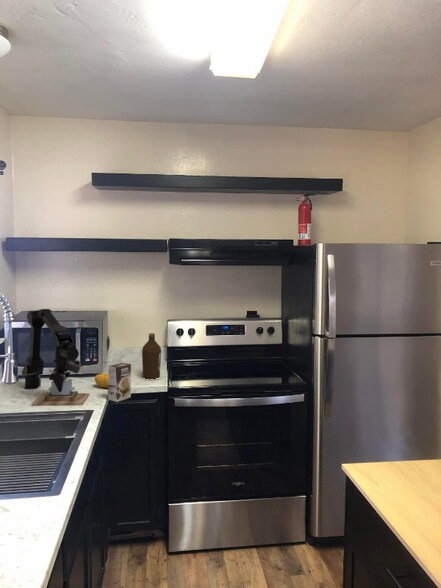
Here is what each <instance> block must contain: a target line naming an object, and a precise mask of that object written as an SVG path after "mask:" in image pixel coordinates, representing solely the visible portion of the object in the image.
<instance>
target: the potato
mask: <svg viewBox="0 0 441 588" xmlns="http://www.w3.org/2000/svg"><path fill="white" fill-rule="evenodd" d="M94 382H95V384H96V385H97V386H98V387H100V388H105V389H108V373H98V374H97V375H95V377H94Z"/></svg>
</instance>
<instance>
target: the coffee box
mask: <svg viewBox="0 0 441 588" xmlns="http://www.w3.org/2000/svg"><path fill="white" fill-rule="evenodd" d="M107 372H108V373H107V374H108V388H107V400H108V401H113V402H116V403H118V402H120V401H123V400H124V401H125V400H127V399H129V398H131V396H132V391H131V390H132V364H131V363H127V362H126V363H124V362H120V363H116V364H110V365H108V371H107Z"/></svg>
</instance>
